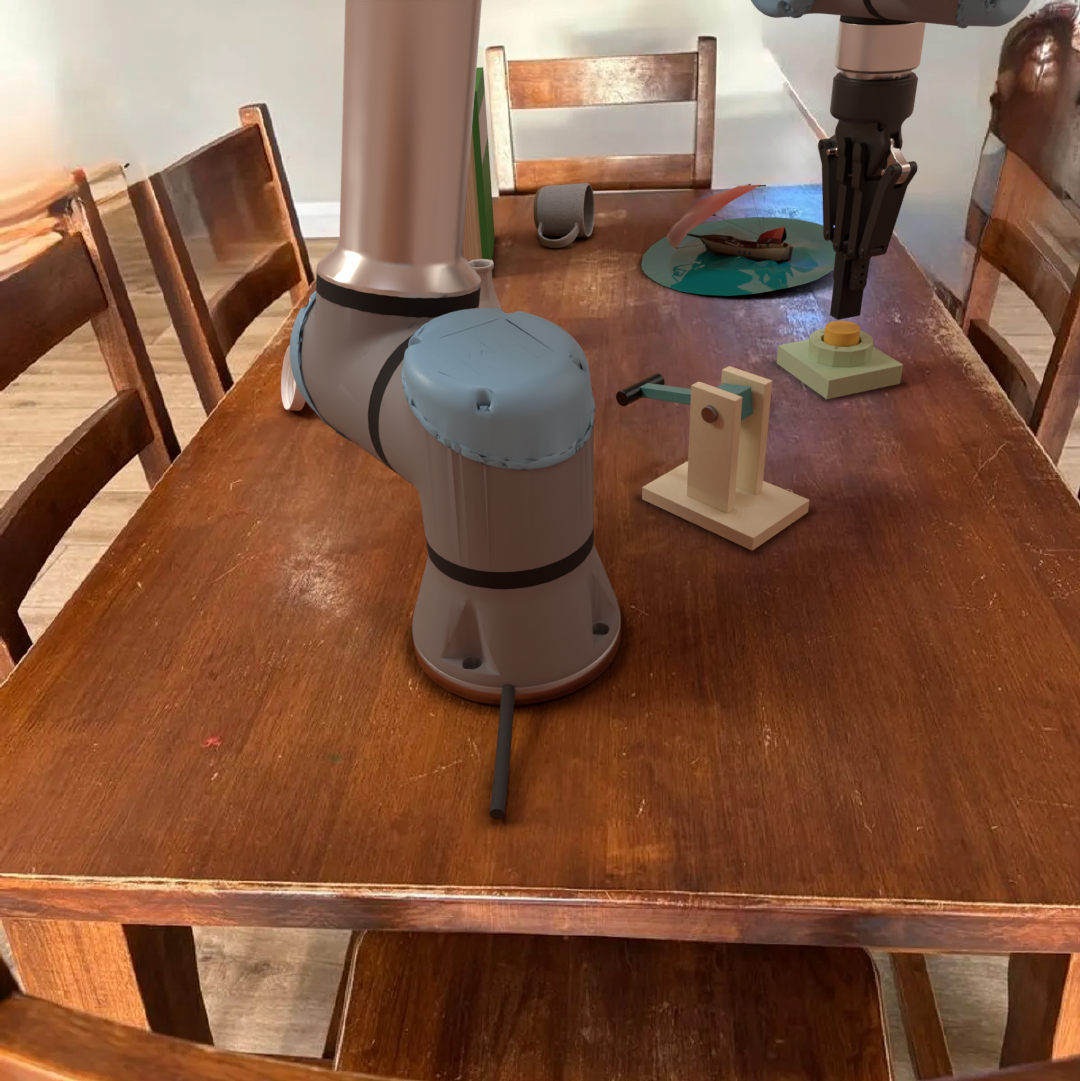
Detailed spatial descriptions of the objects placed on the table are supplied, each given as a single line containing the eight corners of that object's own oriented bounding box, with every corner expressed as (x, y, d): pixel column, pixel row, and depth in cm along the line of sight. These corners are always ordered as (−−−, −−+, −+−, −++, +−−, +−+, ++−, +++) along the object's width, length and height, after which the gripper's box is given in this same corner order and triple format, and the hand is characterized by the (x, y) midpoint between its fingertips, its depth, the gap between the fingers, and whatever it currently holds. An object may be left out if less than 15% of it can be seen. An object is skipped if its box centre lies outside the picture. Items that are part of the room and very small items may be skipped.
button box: (900, 383, 107) (906, 348, 105) (826, 399, 105) (831, 364, 102) (845, 349, 115) (850, 316, 113) (776, 363, 113) (779, 329, 110)
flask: (509, 359, 117) (503, 275, 111) (448, 356, 118) (440, 273, 112) (522, 334, 123) (517, 253, 117) (464, 332, 124) (457, 252, 118)
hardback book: (490, 277, 140) (476, 91, 127) (436, 279, 140) (417, 93, 127) (494, 238, 155) (483, 67, 141) (446, 240, 155) (430, 69, 141)
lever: (617, 410, 90) (613, 385, 89) (654, 392, 93) (651, 367, 91) (726, 429, 81) (723, 401, 80) (764, 408, 84) (761, 380, 83)
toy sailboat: (690, 223, 156) (687, 149, 150) (873, 234, 143) (878, 153, 136) (607, 295, 138) (599, 214, 132) (808, 316, 125) (810, 227, 118)
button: (865, 345, 107) (867, 330, 106) (835, 351, 106) (837, 335, 105) (845, 333, 110) (847, 318, 109) (816, 339, 109) (818, 324, 108)
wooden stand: (641, 499, 90) (643, 377, 83) (698, 466, 94) (704, 348, 88) (752, 551, 83) (763, 422, 76) (808, 512, 87) (823, 387, 81)
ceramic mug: (544, 226, 158) (542, 176, 154) (596, 228, 156) (595, 177, 152) (527, 249, 150) (524, 196, 145) (581, 251, 148) (579, 198, 143)
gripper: (957, 77, 89) (914, 330, 102) (869, 57, 99) (840, 289, 112) (884, 87, 87) (850, 344, 100) (802, 65, 97) (780, 301, 110)
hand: (844, 315), depth 106 cm, fingers closed
